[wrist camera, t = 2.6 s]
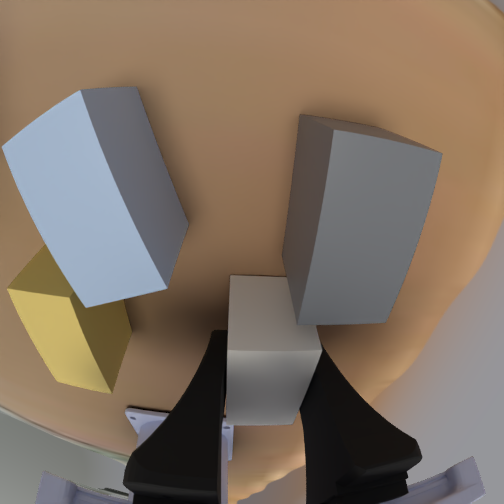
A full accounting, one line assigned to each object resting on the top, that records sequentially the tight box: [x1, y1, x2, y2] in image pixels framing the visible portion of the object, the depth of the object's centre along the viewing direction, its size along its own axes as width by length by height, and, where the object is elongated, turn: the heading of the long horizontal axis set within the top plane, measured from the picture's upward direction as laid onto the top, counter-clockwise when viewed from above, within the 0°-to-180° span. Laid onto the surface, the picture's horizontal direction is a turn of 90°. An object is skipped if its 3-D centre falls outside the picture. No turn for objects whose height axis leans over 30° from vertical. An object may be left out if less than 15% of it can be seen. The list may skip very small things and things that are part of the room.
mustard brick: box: [7, 244, 132, 394], centre depth 11 cm, size 6×3×4 cm, turn 176°
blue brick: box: [2, 87, 189, 308], centre depth 8 cm, size 6×3×4 cm, turn 16°
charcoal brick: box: [282, 114, 442, 325], centre depth 9 cm, size 6×3×4 cm, turn 176°
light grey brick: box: [226, 275, 322, 425], centre depth 12 cm, size 6×3×4 cm, turn 176°
